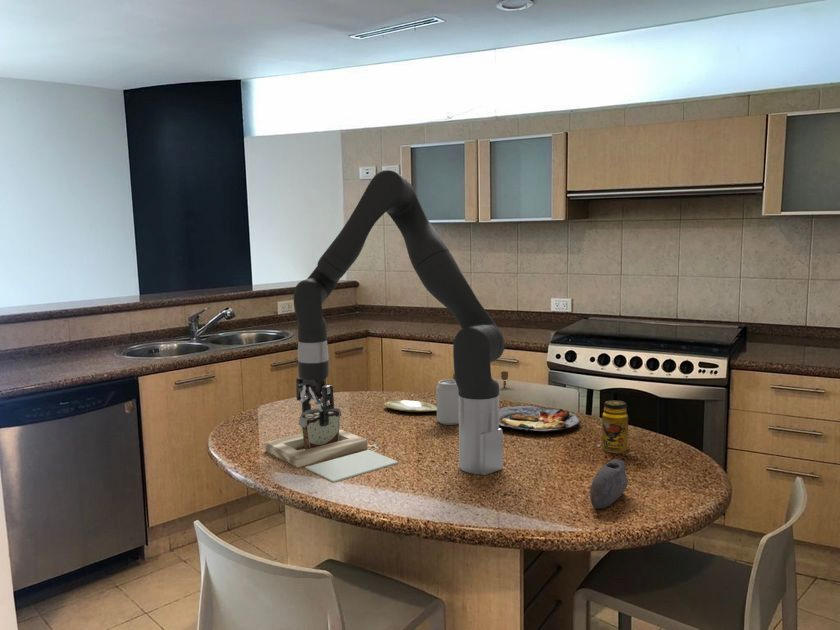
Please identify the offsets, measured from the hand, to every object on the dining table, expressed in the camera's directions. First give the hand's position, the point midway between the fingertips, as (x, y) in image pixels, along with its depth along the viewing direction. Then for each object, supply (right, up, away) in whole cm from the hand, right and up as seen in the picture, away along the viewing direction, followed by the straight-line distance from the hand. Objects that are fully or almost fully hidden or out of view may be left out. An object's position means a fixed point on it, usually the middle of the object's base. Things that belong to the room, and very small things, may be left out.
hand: (315, 421), depth 170 cm
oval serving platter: (+31, -3, +33) cm, 45 cm away
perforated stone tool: (+64, -11, -35) cm, 73 cm away
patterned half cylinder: (0, -7, +1) cm, 8 cm away
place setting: (+45, +1, +64) cm, 78 cm away
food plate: (+58, -4, +20) cm, 62 cm away
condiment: (+74, -6, -3) cm, 75 cm away
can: (+35, -4, +23) cm, 42 cm away
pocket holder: (0, -7, +1) cm, 7 cm away
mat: (+10, -9, -12) cm, 18 cm away
